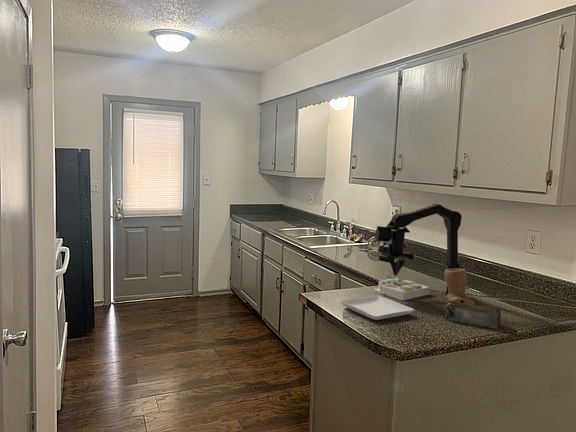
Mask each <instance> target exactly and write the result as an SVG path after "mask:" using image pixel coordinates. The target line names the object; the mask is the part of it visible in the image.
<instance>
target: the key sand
mask: <svg viewBox="0 0 576 432" xmlns="http://www.w3.org/2000/svg"><path fill="white" fill-rule="evenodd" d="M400 289H404V290H407V291H409V290H414V287H412V286H408V285H403V286H400Z"/></svg>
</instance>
